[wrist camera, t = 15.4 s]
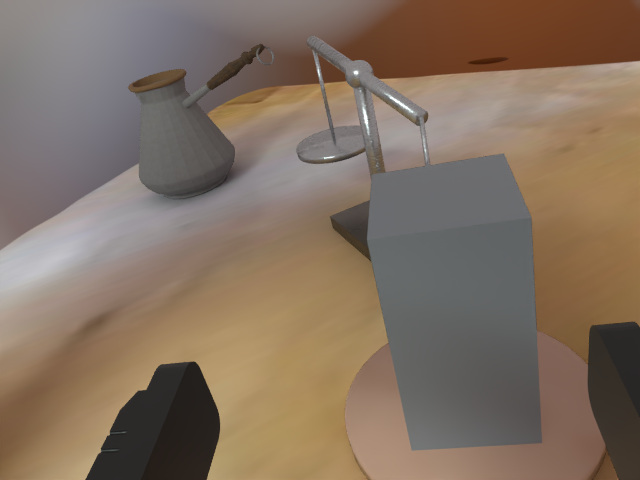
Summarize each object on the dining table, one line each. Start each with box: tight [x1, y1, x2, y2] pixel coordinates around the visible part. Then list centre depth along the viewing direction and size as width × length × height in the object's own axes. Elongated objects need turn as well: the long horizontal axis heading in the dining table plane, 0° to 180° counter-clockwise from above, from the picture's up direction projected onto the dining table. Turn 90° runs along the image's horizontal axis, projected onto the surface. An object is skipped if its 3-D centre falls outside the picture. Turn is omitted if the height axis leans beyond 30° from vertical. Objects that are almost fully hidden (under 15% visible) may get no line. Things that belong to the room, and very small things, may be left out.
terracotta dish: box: [345, 331, 606, 480], centre depth 30 cm, size 13×13×1 cm
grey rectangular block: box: [367, 154, 542, 451], centre depth 27 cm, size 6×6×12 cm
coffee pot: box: [128, 44, 274, 199], centre depth 62 cm, size 21×12×15 cm, turn 60°
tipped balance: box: [296, 36, 430, 262], centre depth 44 cm, size 23×7×16 cm, turn 24°
